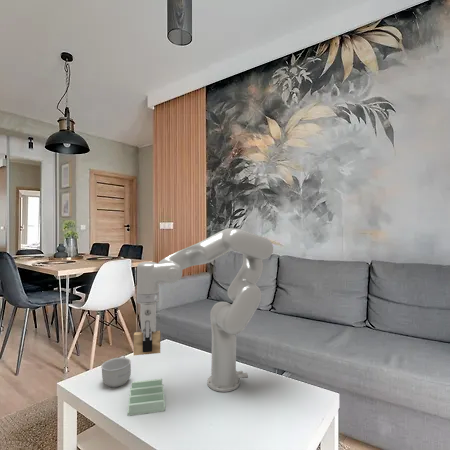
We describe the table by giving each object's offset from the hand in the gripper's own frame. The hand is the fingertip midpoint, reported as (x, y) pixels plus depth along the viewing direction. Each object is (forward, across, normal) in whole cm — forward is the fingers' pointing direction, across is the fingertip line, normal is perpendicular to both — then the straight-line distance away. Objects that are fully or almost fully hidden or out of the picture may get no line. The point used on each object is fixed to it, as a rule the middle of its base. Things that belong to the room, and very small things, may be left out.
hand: (147, 349), depth 109 cm
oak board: (+1, 0, 0) cm, 1 cm away
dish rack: (+18, 0, 0) cm, 18 cm away
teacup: (+18, +16, +11) cm, 27 cm away
